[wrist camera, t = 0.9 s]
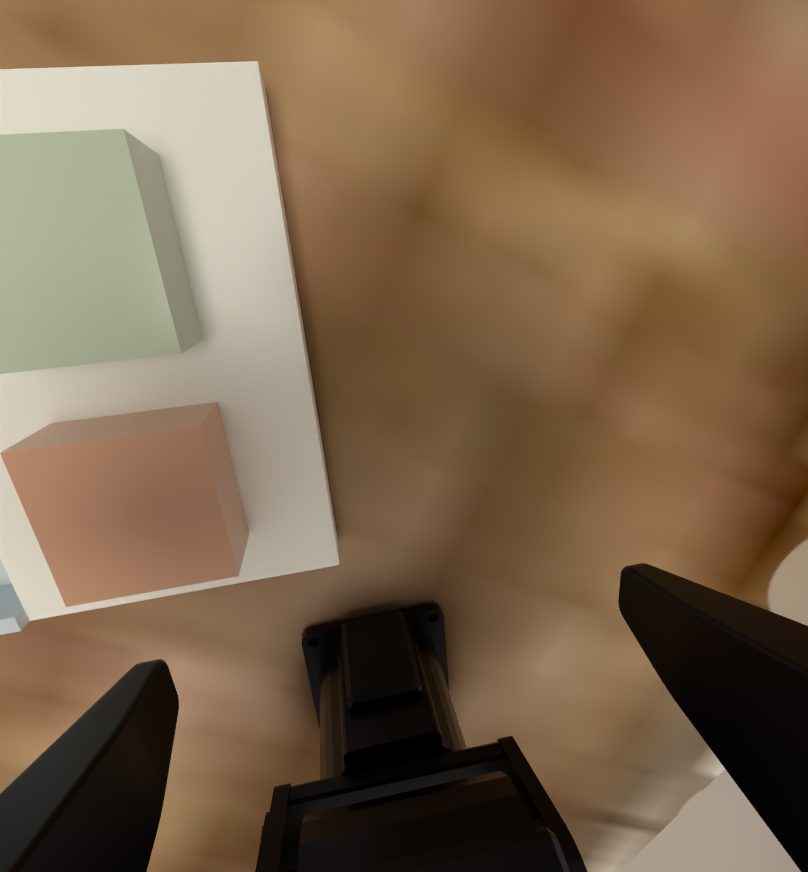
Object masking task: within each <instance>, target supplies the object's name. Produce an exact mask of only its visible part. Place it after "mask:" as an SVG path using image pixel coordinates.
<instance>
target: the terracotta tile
mask: <svg viewBox="0 0 808 872" xmlns="http://www.w3.org/2000/svg"><path fill="white" fill-rule="evenodd" d="M0 455H1V457H2V459H3V462H4V464H5V466H6V469H7V471H8V473H9V475H10V478H11V480H12V482H13V485H14V487H15V489H16V492H17V494H18V496H19V499H20V501H21V503H22V506H23V508H24V510H25V513H26V515H27V517H28V520H29V522H30V524H31V527H32V529H33V531H34V534H35V536H36V538H37V541H38V543H39V545H40V548H41V550H42V552H43V555H44V557H45V559H46V562H47V564H48V566H49V569H50V571H51V573H52V576H53V578H54V580H55V583H56V585H57V587H58V590H59V592H60V594H61V597H62V599H63V601H64V604H65V606H66V607H69V606H75V605H80V604H86V603H92V602H97V601H103V600H109V599H114V598H120V597H125V596H131V595H137V594H142V593H148V592H153V591H159V590H165V589H170V588H176V587H181V586H187V585H193V584H198V583H204V582H209V581H215V580H221V579H226V578H232V577H238V576H239V573H240V569H241V565H242V561H243V557H244V553H245V549H246V545H247V541H248V537H249V530H248V526H247V522H246V518H245V514H244V509H243V505H242V501H241V497H240V493H239V488H238V484H237V480H236V476H235V472H234V467H233V463H232V459H231V455H230V451H229V446H228V442H227V438H226V434H225V430H224V426H223V421H222V417H221V413H220V409H219V405H218V402H213V403H205V404H197V405H190V406H182V407H174V408H166V409H158V410H150V411H143V412H135V413H127V414H119V415H111V416H103V417H96V418H88V419H80V420H72V421H64V422H56V423H50V424H49V425H47V426H45V427H43V428H42V429H40V430H38V431H37V432H35V433H33V434H31V435H30V436H28V437H26V438H25V439H23V440H21V441H19V442H18V443H16V444H14V445H13V446H11V447H9V448H7V449H6V450H4V451H2V452H0Z"/></svg>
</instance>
